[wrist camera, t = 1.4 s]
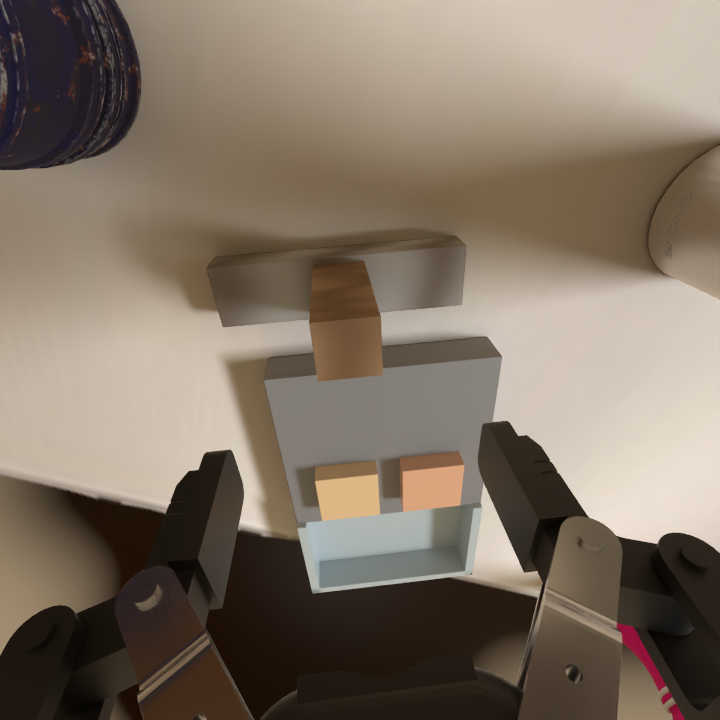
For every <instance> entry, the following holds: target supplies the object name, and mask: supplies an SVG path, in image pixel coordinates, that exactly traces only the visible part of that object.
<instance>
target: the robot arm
mask: <svg viewBox="0 0 720 720" xmlns="http://www.w3.org/2000/svg"><path fill="white" fill-rule="evenodd" d="M648 247H649V251H650V255H651V259H652V260H653V262H654V263H655V265H656V267H657V268H658V269H660V270H661V271H662V272H663V273H664V274H667V275H669V276H671V277H673V278H675V279H677V280H680V281H682V282H684V283H686V284H688V285H690V286H692V287H695V288H697V289H699V290H701V291H703V292H705V293H708V294H709V295H711V296H713V297H716V298H718V299H720V145H719V146H717V147H715V148H713V149H711V150H709V151H707V152H706V153H705V154H703V155H702V156H700V157H699V158H697V159H696V160H695V161H693V162H692V163H691V164H690V165H689V166H688V167H687V168H686V169H685V170H684V171H683V172H681V173H680V174H679V175H678V177H677V178H676V179H675V180H674V182H673V183H672V184H671V185H670V187H669V188H668V189H667V190H666V192H665V194H664V195H663V197H662V199H661V200H660V202H659V204H658V206H657V208H656V211H655V213H654V215H653V218H652V221H651V225H650V230H649V239H648ZM478 467H479V471H480V475H481V477H482V480H483V482H484V484H485V486H486V488H487V491H488V493H489V495H490V497H491V500H492V502H493V504H494V506H495V509H496V511H497V513H498V515H499V518H500V520H501V522H502V524H503V526H504V529H505V531H506V533H507V535H508V538H509V540H510V542H511V544H512V547H513V549H514V551H515V553H516V556H517V558H518V560H519V562H520V564H521V567H522V569H523V571H524V573H525V572H533V571H538V574H539V576H540V578H541V580H542V584H541V588H540V592H539V596H538V600H537V604H536V608H535V612H534V616H533V621H532V625H531V629H530V633H529V637H528V641H527V645H526V649H525V653H524V657H523V660H522V664H521V668H520V671H519V674H518V678H517V683H516V686H515V685H514V684H512V683H511V682H509V681H508V680H506V679H504V678H503V677H501V676H499V675H497V674H495V673H493V672H490V671H487V670H484V669H481V668H477V667H474V665H473V661H472V658H471V654H464V655H457V656H449V657H441V658H434V659H428V660H426V661H424V662H422V663H419V664H417V665H415V666H413V667H411V668H409V669H407V670H405V671H403V672H401V673H399V674H396V675H394V676H392V677H390V678H386V679H384V678H377V677H372V676H366V675H361V674H355V673H350V672H345V671H334V672H327V673H319V674H311V675H304V676H298V682H297V690H296V691H294V692H292V693H290V694H289V695H287V696H286V697H284V698H283V699H281V700H280V701H278V702H277V703H276V704H275V705H274V706H273V707H271V708H270V709H269V710H268V711H267V712H266V713H265V714H264V715H263V716H262V717H261V719H260V720H617V712H618V698H619V684H620V669H621V655H622V633H621V631H620V630H618V629H617V623H619V624H623V625H628V626H632V627H634V629H635V631H636V632H637V634H638V636H639V638H640V640H641V641H642V643H643V645H644V647H645V649H646V650H647V652H648V654H649V656H650V658H651V659H652V661H653V663H654V665H655V667H656V668H657V670H658V672H659V674H660V676H661V677H662V679H663V681H664V683H665V685H666V686H667V688H668V690H669V692H670V694H671V695H672V697H673V699H674V701H675V703H676V704H677V706H678V708H679V710H680V712H681V713H682V715H683V717H684V719H685V720H720V553H719V552H718V551H716V550H715V549H714V548H713V547H711V546H710V545H709V544H707V543H705V542H704V541H702V540H700V539H698V538H696V537H693V536H691V535H687V534H683V533H669V534H666V535H664V536H663V537H661V539H660V540H659V542H658V544H654V543H648V542H643V541H637V540H631V539H626V538H622V537H618V536H616V535H615V534H614V533H613V532H612V531H611V530H610V529H609V528H608V527H606V526H605V525H604V524H602V523H600V522H598V521H596V520H594V519H591V518H589V517H588V516H587V514H586V513H585V512H584V510H583V509H582V507H581V506H580V504H579V503H578V501H577V500H576V498H575V497H574V495H573V494H572V492H571V491H570V489H569V488H568V486H567V485H566V483H565V482H564V480H563V479H562V477H561V476H560V474H559V473H557V470H556V468H555V467H554V465H553V464H552V462H550V459H549V458H548V456H547V455H546V453H545V452H544V450H543V449H542V447H541V446H540V445H539V444H537V443H536V442H535V441H533V440H532V439H531V438H529V437H528V436H527V435H525V436H518V435H517V434H516V432H515V430H514V429H513V427H512V426H511V424H510V423H509V422H508V421H501V422H491V423H484V424H483V425H482V429H481V436H480V444H479V451H478ZM243 499H244V489H243V483H242V479H241V476H240V473H239V470H238V467H237V464H236V461H235V458H234V455H233V452H232V451H231V450H223V451H214V452H206V453H205V454H204V456H203V459H202V462H201V464H200V467H199V470H196V471H189V472H188V473H187V474H186V475H185V476H184V477H183V479H182V480H181V481H180V482H179V483H178V484H177V486H176V488H175V491H174V494H173V496H172V499H171V504H169V507H168V509H167V512H166V517H164V520H163V522H162V525H161V527H160V530H159V532H158V535H157V537H156V540H155V543H154V545H153V548H152V550H151V553H150V556H149V558H148V561H147V563H146V565H145V568H144V570H143V571H141V572H139V573H138V574H136V575H135V576H134V577H132V578H131V579H130V580H129V581H128V582H127V583H126V584H125V586H124V587H123V588H122V590H121V591H120V593H119V595H117V596H116V597H114V598H111V599H109V600H107V601H105V602H102V603H100V604H98V605H95V606H93V607H91V608H88V609H86V610H84V611H81V612H79V613H75V612H74V611H73V610H72V609H71V608H70V607H67V606H62V605H59V606H53V607H49V608H47V609H44V610H42V611H40V612H38V613H37V614H35V615H34V616H32V617H31V618H29V619H28V620H27V621H26V622H25V623H23V624H22V625H21V626H20V627H19V628H18V629H17V630H16V632H15V633H14V634H13V635H12V637H11V638H10V639H9V641H8V643H7V644H6V646H5V648H4V650H3V652H2V654H1V655H0V720H110V716H111V713H112V710H113V706H114V703H115V700H116V697H117V693H119V692H121V691H123V690H125V689H127V688H129V687H131V686H133V685H135V684H137V683H139V687H140V692H139V693H138V702H139V706H140V710H141V713H142V716H143V719H144V720H253V718H252V716H251V714H250V712H249V710H248V709H247V706H246V704H245V703H244V701H243V699H242V697H241V695H240V693H239V691H238V689H237V688H236V686H235V684H234V682H233V680H232V678H231V676H230V674H229V672H228V670H227V668H226V666H225V665H224V663H223V661H222V659H221V657H220V655H219V653H218V651H217V649H216V647H215V645H214V643H213V642H212V640H211V638H210V636H209V634H208V632H207V630H206V628H205V624H206V620H207V615H208V611H209V610H212V609H221V608H222V606H223V601H224V596H225V591H226V585H227V581H228V576H229V570H230V566H231V560H232V556H233V551H234V546H235V540H236V535H237V531H238V525H239V520H240V515H241V510H242V505H243Z"/></svg>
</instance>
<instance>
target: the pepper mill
mask: <svg viewBox="0 0 720 720" xmlns="http://www.w3.org/2000/svg"><path fill="white" fill-rule="evenodd" d="M617 629H618V630H620V631H621V633H622V643H623V644H625V645H626V646H627V647H628V648H629V649H630V650H631V651H632V652H633V653H634V654H635V655H636V656H637V657H638V658H639V659H640V660H641V661H642V663H643V664H644V665H645V667H646V668H647V670H648V671H649V673H650V675H651V676H652V678H653V680H654V682H655V684H656V686H657V688H658V690H659V692H658V699H659V700H660V701H662V703H663V704H664V709H665V710H666V711H667V712H668V713H672V715H673V720H685V719H684V717H683V715H682V713H681V712H680V710H679V708H678V706H677V704H676V703H675V701H674V699H673V697H672V695H671V694H670V692H669V690H668V688H667V686H666V685H665V683H664V681H663V679H662V677H661V676H660V674H659V672H658V670H657V668H656V667H655V665H654V663H653V661H652V659H651V658H650V656H649V654H648V652H647V650H646V649H645V647H644V645H643V643H642V641H641V640H640V638H639V636H638V634H637V632H636V631H635V629H634V627H632V626H628V625H623V624H619V623H617Z"/></svg>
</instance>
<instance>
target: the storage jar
mask: <svg viewBox="0 0 720 720" xmlns="http://www.w3.org/2000/svg"><path fill="white" fill-rule="evenodd" d="M140 97H141V73H140V64H139V59H138V55H137V51H136V46H135V43H134V40H133V37H132V35H131V32H130V29H129V26H128V24H127V22H126V20H125V18H124V16H123V14H122V12H121V10H120V8H119V6H118V4H117V3H116V1H115V0H0V170H23V169H28V168H49V167H54V166H59V165H65V164H70V163H73V162H75V161H78V160H80V159H85V158H90V157H95V156H97V155H100V154H102V153H105V152H107V151H109V150H110V149H112V148H113V147H114V146H116V145H117V144H118V143H119V142H120V141H121V140H122V139H123V138H124V137H125V136H126V135H127V133H128V131H129V130H130V128H131V126H132V125H133V123H134V120H135V117H136V115H137V112H138V108H139V102H140Z"/></svg>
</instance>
